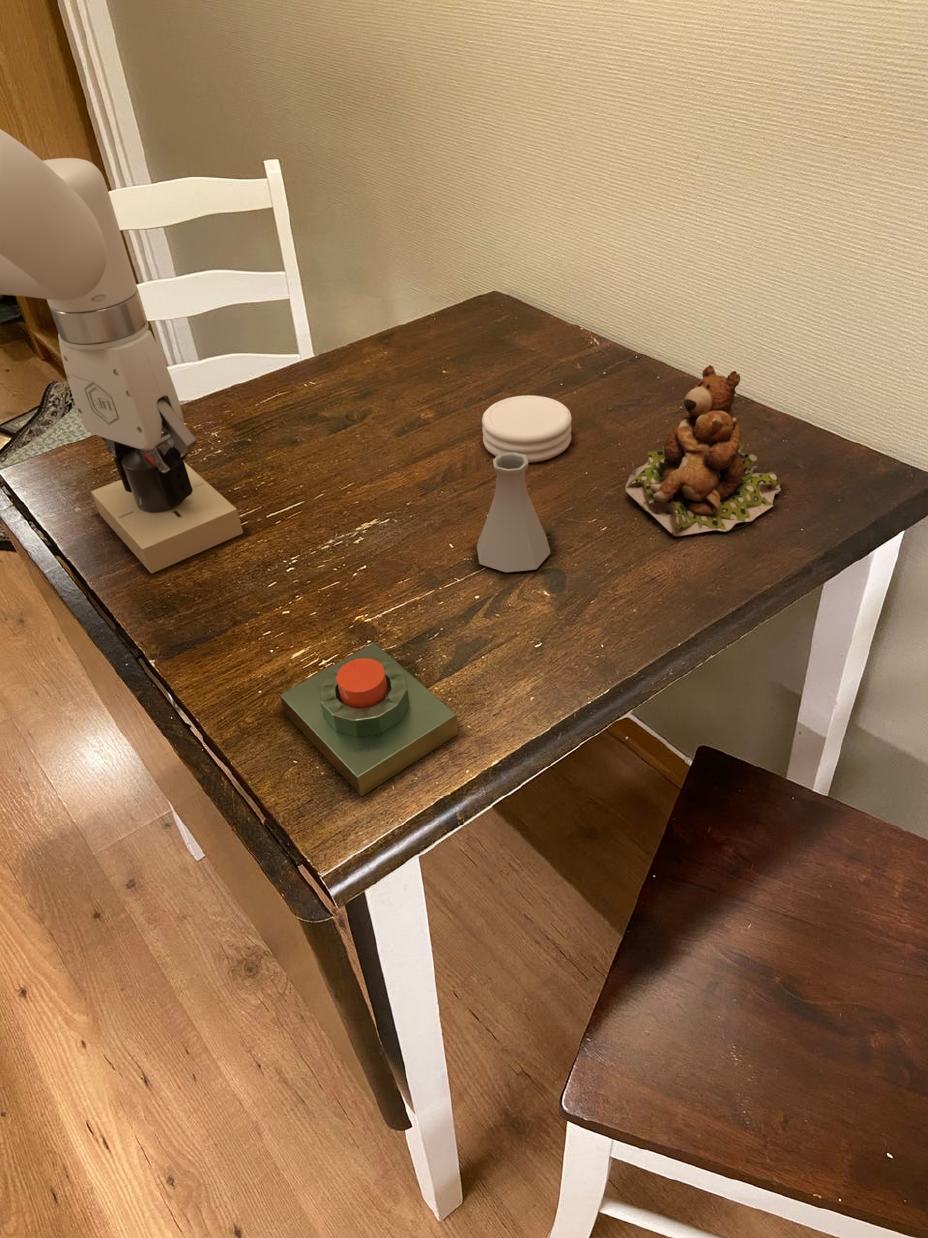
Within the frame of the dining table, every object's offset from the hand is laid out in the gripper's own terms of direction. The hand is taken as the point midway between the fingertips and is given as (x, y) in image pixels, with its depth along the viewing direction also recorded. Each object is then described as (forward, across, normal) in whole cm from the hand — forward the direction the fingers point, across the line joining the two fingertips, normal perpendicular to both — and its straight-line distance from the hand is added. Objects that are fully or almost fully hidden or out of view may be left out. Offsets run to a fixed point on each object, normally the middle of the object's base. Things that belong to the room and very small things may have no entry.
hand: (159, 491), depth 89 cm
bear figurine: (+4, +46, +29) cm, 55 cm away
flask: (+4, +34, +12) cm, 37 cm away
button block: (+4, +36, -13) cm, 38 cm away
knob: (+1, 0, 0) cm, 1 cm away
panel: (+4, 0, 0) cm, 4 cm away
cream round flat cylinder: (+4, +25, +31) cm, 40 cm away
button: (0, +35, -13) cm, 38 cm away
